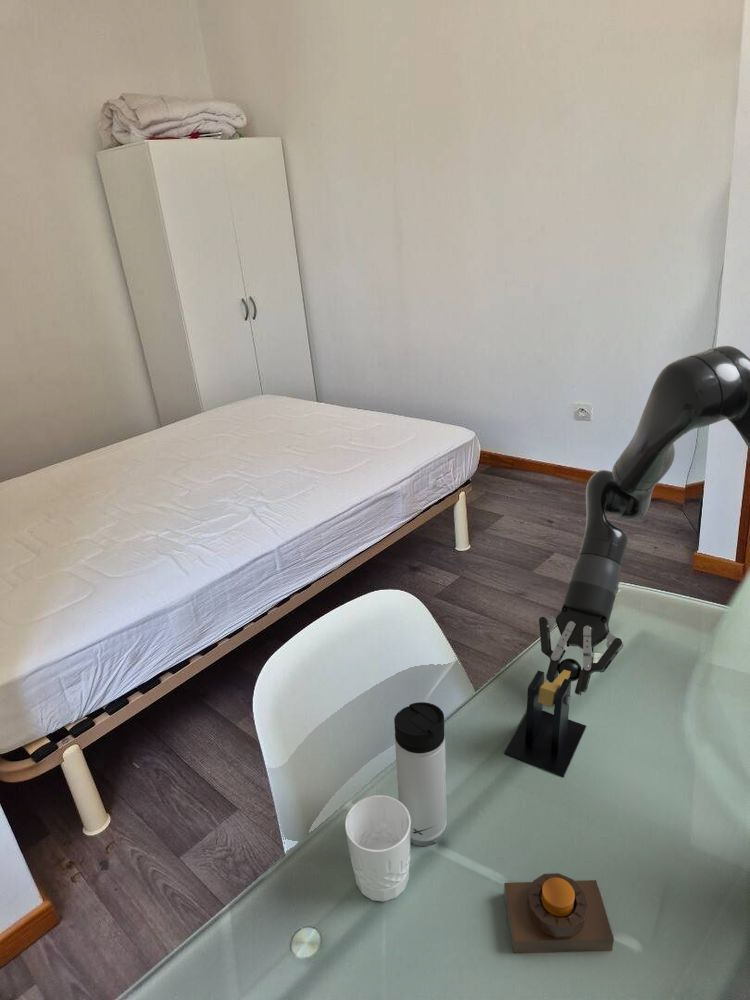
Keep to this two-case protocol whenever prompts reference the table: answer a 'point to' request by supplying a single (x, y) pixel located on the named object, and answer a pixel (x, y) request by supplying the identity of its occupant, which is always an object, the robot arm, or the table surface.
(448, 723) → the table surface
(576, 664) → the switch lever
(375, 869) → the white cup
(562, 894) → the button
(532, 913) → the switch plate
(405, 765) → the travel mug
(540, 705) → the switch bracket
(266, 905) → the table surface
